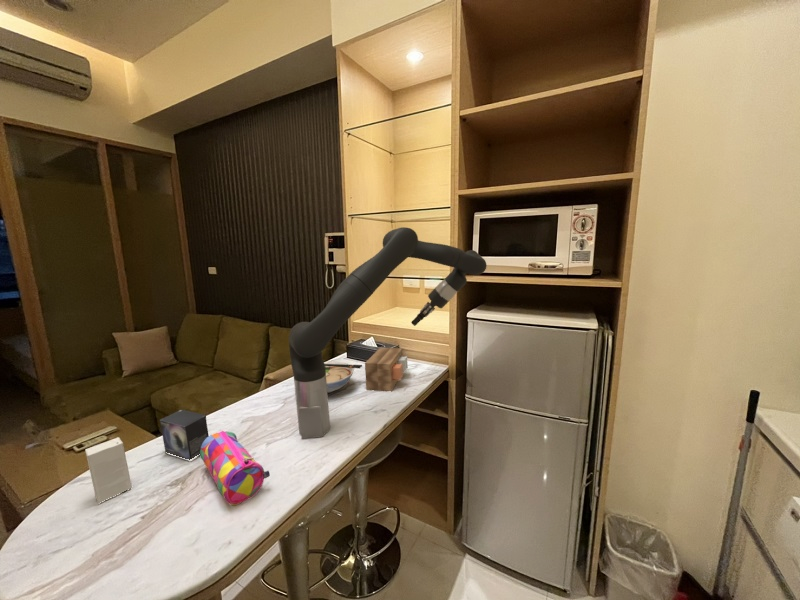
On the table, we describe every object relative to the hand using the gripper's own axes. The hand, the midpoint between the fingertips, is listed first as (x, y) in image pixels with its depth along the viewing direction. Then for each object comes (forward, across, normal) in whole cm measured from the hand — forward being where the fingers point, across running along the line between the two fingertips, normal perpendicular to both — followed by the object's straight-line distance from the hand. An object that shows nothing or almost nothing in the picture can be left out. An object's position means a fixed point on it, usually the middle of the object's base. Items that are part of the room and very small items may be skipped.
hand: (413, 324), depth 127 cm
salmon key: (+20, +7, +9) cm, 23 cm away
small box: (+55, +58, -21) cm, 82 cm away
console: (+25, +2, +8) cm, 27 cm away
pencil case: (+40, +64, -6) cm, 76 cm away
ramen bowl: (+41, +14, -6) cm, 43 cm away
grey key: (+20, -2, +9) cm, 22 cm away
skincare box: (+58, +74, -23) cm, 96 cm away
